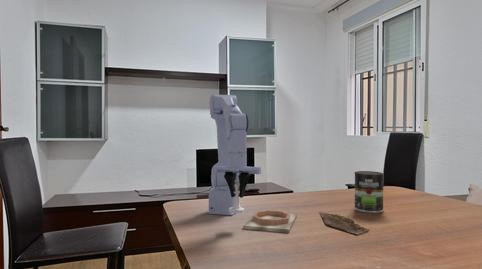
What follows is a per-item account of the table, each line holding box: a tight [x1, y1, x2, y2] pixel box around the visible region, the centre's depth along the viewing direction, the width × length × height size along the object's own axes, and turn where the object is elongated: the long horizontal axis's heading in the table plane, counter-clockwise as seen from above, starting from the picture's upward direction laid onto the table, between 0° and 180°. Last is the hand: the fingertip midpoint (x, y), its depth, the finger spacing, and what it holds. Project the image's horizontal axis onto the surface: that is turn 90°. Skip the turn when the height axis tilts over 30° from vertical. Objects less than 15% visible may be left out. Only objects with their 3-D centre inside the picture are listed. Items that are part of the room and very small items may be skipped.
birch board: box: [243, 211, 298, 234], centre depth 104 cm, size 14×18×1 cm
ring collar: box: [252, 209, 291, 225], centre depth 104 cm, size 12×12×2 cm
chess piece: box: [229, 178, 245, 214], centre depth 97 cm, size 5×5×10 cm
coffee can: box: [353, 170, 385, 214], centre depth 121 cm, size 10×10×14 cm
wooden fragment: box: [319, 212, 370, 236], centre depth 104 cm, size 26×11×1 cm, turn 8°
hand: (237, 196), depth 98 cm, fingers closed on chess piece, 2 cm apart
